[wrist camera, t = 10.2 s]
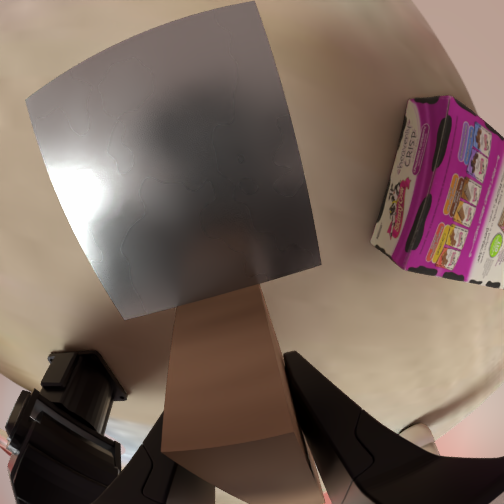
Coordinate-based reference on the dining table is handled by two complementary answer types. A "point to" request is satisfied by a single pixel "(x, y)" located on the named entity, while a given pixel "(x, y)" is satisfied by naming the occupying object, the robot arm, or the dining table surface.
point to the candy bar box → (445, 195)
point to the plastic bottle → (421, 437)
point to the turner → (195, 229)
